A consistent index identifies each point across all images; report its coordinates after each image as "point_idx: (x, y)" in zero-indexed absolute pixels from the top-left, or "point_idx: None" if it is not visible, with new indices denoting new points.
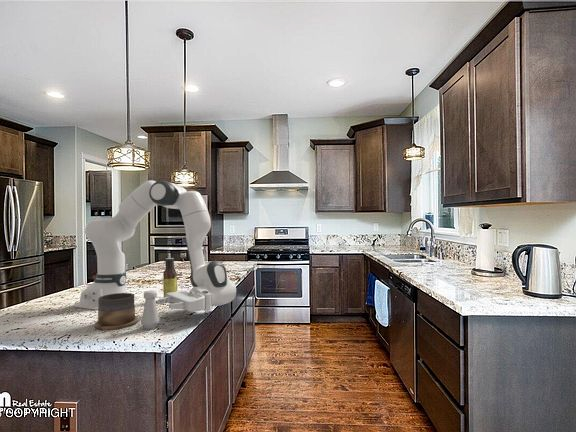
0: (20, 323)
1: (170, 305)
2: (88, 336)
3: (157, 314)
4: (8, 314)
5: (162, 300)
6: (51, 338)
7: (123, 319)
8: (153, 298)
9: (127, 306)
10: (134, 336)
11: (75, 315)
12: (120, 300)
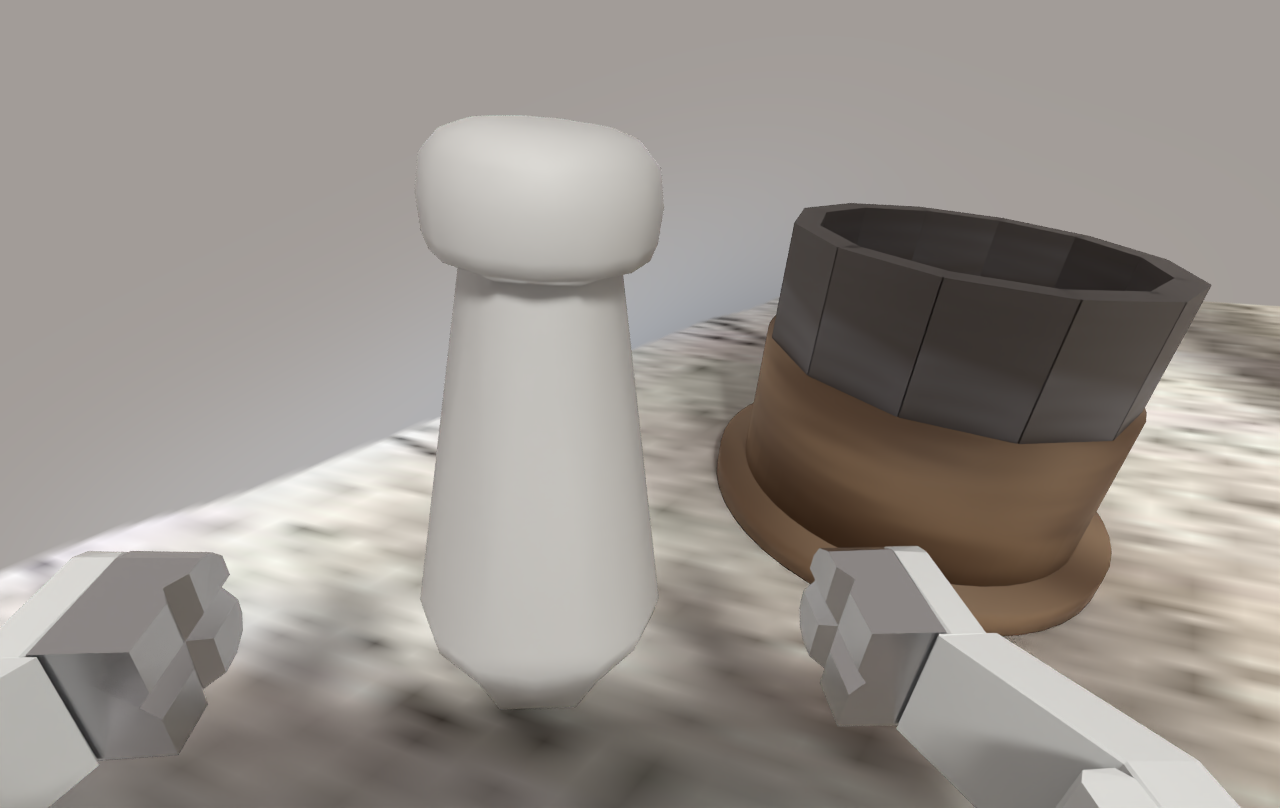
0: None
1: (121, 557)
2: (666, 369)
3: (465, 569)
4: (1223, 306)
5: (843, 611)
6: (741, 315)
7: (762, 437)
8: (470, 272)
9: (814, 345)
10: (415, 489)
11: (1213, 405)
12: (799, 239)
